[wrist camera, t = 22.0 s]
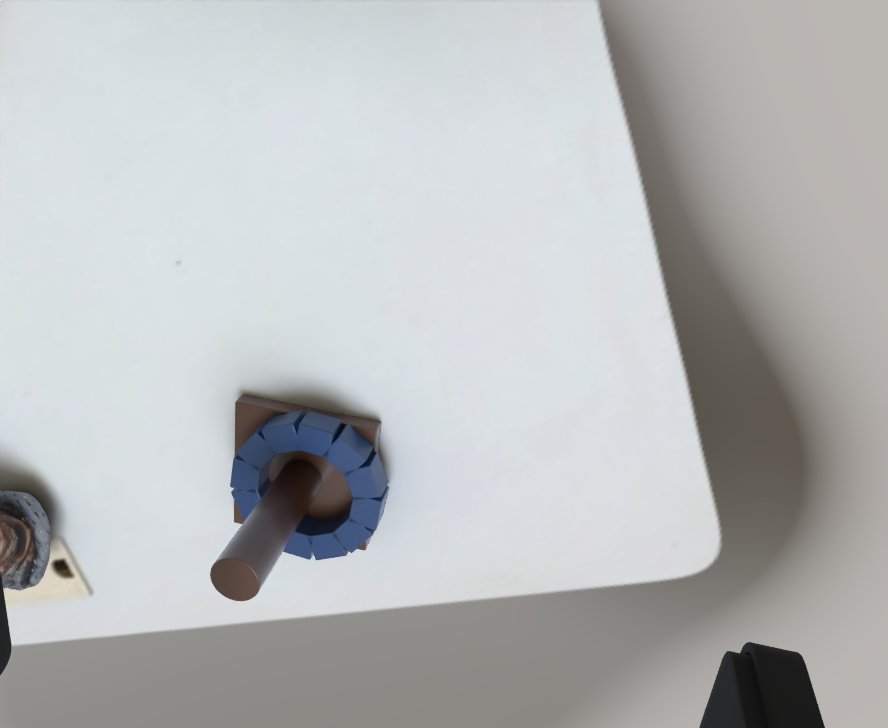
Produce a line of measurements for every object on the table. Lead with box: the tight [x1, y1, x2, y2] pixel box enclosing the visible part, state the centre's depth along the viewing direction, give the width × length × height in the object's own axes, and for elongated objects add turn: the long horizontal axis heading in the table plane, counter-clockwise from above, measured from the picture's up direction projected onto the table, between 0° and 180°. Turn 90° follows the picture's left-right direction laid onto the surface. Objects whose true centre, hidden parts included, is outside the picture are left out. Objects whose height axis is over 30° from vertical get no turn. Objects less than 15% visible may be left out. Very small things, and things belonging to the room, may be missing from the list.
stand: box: [210, 395, 381, 601], centre depth 41 cm, size 8×8×10 cm
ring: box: [230, 410, 389, 560], centre depth 44 cm, size 8×8×2 cm
